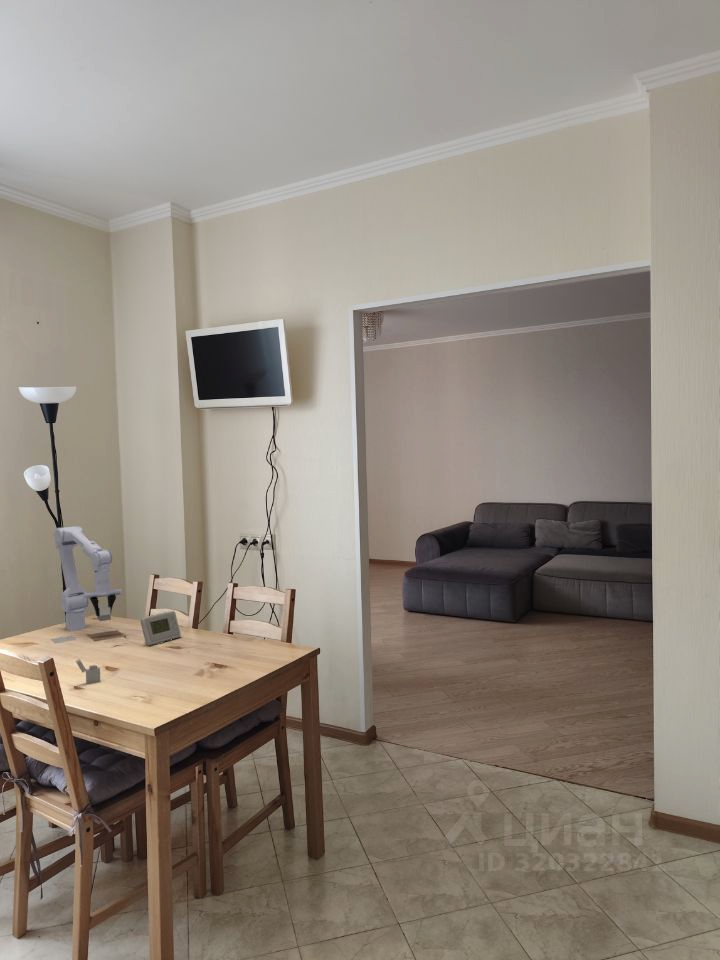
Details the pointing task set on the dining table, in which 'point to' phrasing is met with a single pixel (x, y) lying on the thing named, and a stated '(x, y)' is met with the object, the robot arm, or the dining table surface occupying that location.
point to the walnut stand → (106, 635)
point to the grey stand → (63, 639)
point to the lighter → (90, 672)
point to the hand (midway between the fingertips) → (103, 614)
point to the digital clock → (160, 628)
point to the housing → (104, 613)
